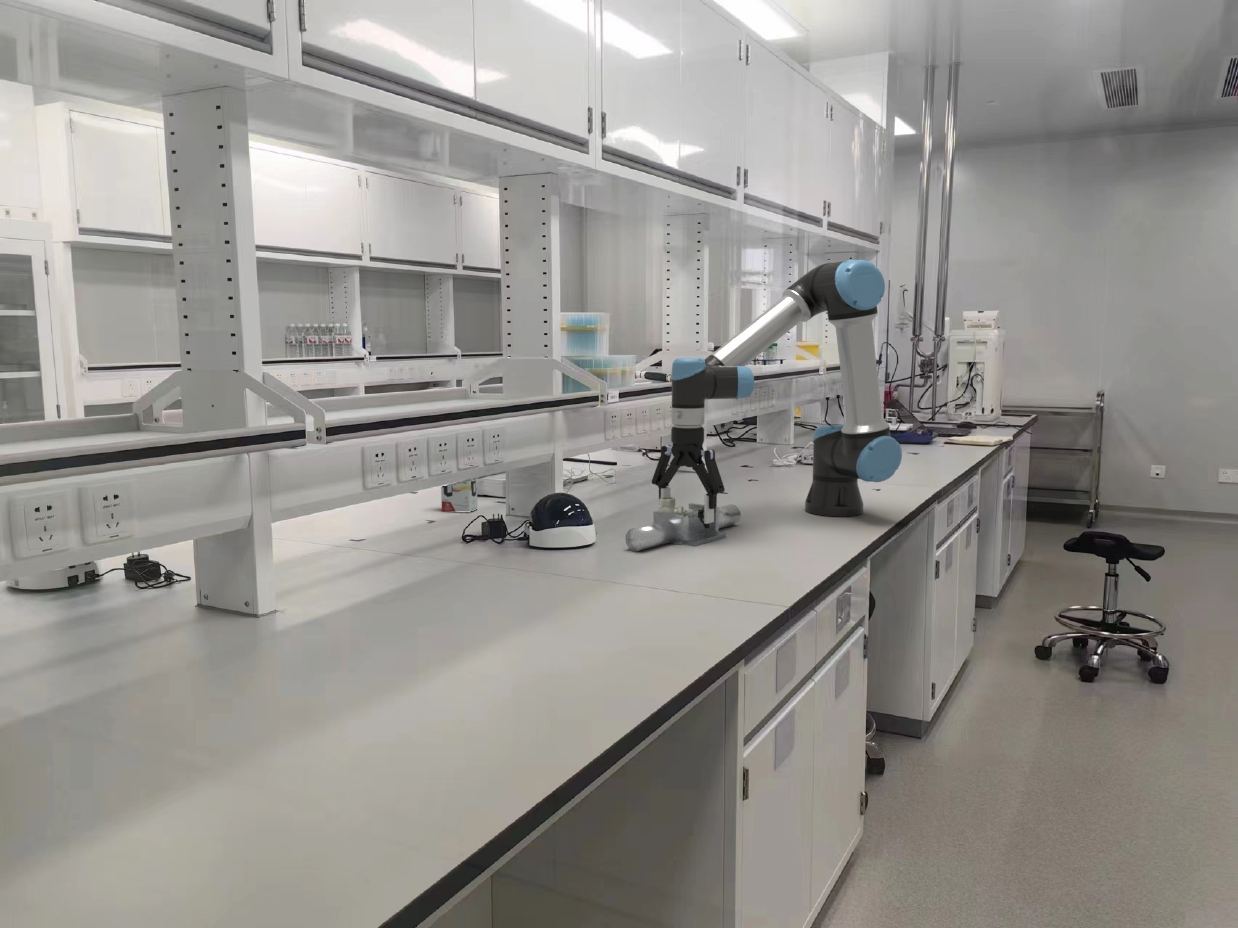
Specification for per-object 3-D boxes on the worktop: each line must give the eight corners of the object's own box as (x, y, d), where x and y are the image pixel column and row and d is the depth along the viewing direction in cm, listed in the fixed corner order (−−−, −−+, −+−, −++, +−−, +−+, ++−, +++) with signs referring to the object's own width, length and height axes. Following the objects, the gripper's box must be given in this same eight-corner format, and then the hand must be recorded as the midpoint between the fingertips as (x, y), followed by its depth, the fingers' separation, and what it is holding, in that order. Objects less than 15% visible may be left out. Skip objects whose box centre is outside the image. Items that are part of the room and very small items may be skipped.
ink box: (440, 511, 234) (439, 467, 233) (449, 508, 239) (448, 465, 237) (469, 513, 232) (468, 469, 230) (478, 509, 236) (477, 466, 235)
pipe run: (709, 520, 223) (709, 495, 222) (755, 528, 214) (756, 502, 213) (610, 546, 196) (610, 517, 195) (659, 556, 186) (659, 526, 186)
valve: (655, 528, 203) (707, 531, 200) (655, 500, 202) (707, 502, 199) (661, 522, 210) (711, 525, 207) (661, 495, 209) (711, 497, 206)
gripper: (636, 423, 206) (636, 514, 209) (721, 431, 190) (720, 528, 193) (657, 421, 212) (656, 509, 215) (741, 428, 196) (739, 523, 199)
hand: (686, 518), depth 204 cm, fingers closed on valve, 12 cm apart
